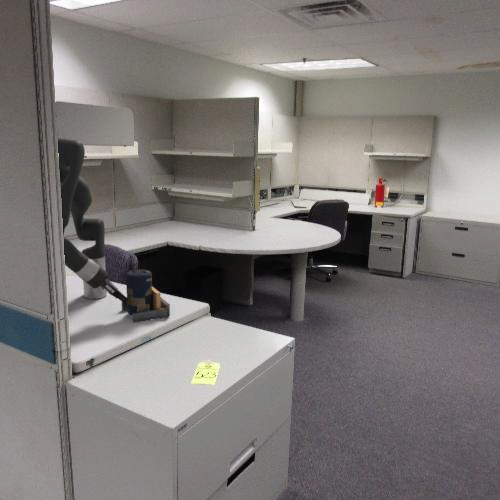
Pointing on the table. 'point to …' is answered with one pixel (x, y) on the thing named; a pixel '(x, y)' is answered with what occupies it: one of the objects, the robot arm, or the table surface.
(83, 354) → the table surface
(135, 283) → the canister
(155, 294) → the plate
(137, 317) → the tray
